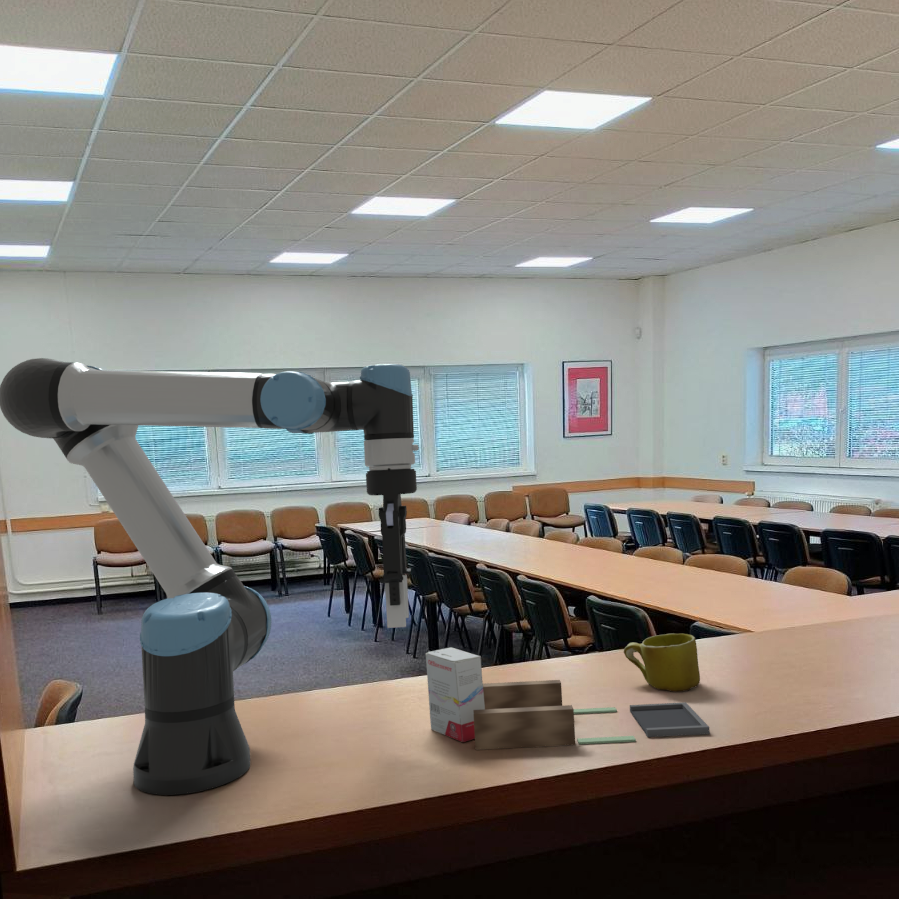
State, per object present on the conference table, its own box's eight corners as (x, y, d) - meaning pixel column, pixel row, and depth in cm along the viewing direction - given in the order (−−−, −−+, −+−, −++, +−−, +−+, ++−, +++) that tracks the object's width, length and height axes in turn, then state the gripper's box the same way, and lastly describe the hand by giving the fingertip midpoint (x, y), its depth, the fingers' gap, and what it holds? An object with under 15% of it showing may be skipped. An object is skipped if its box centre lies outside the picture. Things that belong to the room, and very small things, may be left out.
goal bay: (578, 744, 112) (578, 742, 112) (564, 711, 127) (564, 709, 127) (635, 741, 112) (635, 739, 112) (615, 709, 127) (614, 707, 127)
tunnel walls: (475, 749, 112) (473, 713, 112) (473, 715, 127) (471, 684, 127) (575, 744, 112) (573, 709, 112) (561, 711, 127) (559, 679, 127)
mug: (715, 668, 140) (696, 618, 139) (701, 702, 132) (680, 649, 131) (651, 674, 147) (632, 626, 146) (633, 706, 139) (613, 656, 138)
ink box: (488, 736, 118) (484, 655, 118) (459, 744, 115) (455, 661, 115) (455, 721, 125) (451, 645, 125) (428, 729, 122) (424, 651, 122)
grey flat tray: (647, 737, 114) (647, 729, 114) (629, 711, 125) (629, 705, 125) (709, 734, 114) (709, 726, 114) (686, 708, 125) (685, 702, 125)
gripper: (412, 467, 111) (420, 634, 111) (418, 466, 130) (425, 609, 130) (358, 470, 111) (366, 637, 111) (372, 468, 130) (379, 611, 130)
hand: (398, 621), depth 120 cm, fingers open, 6 cm apart
